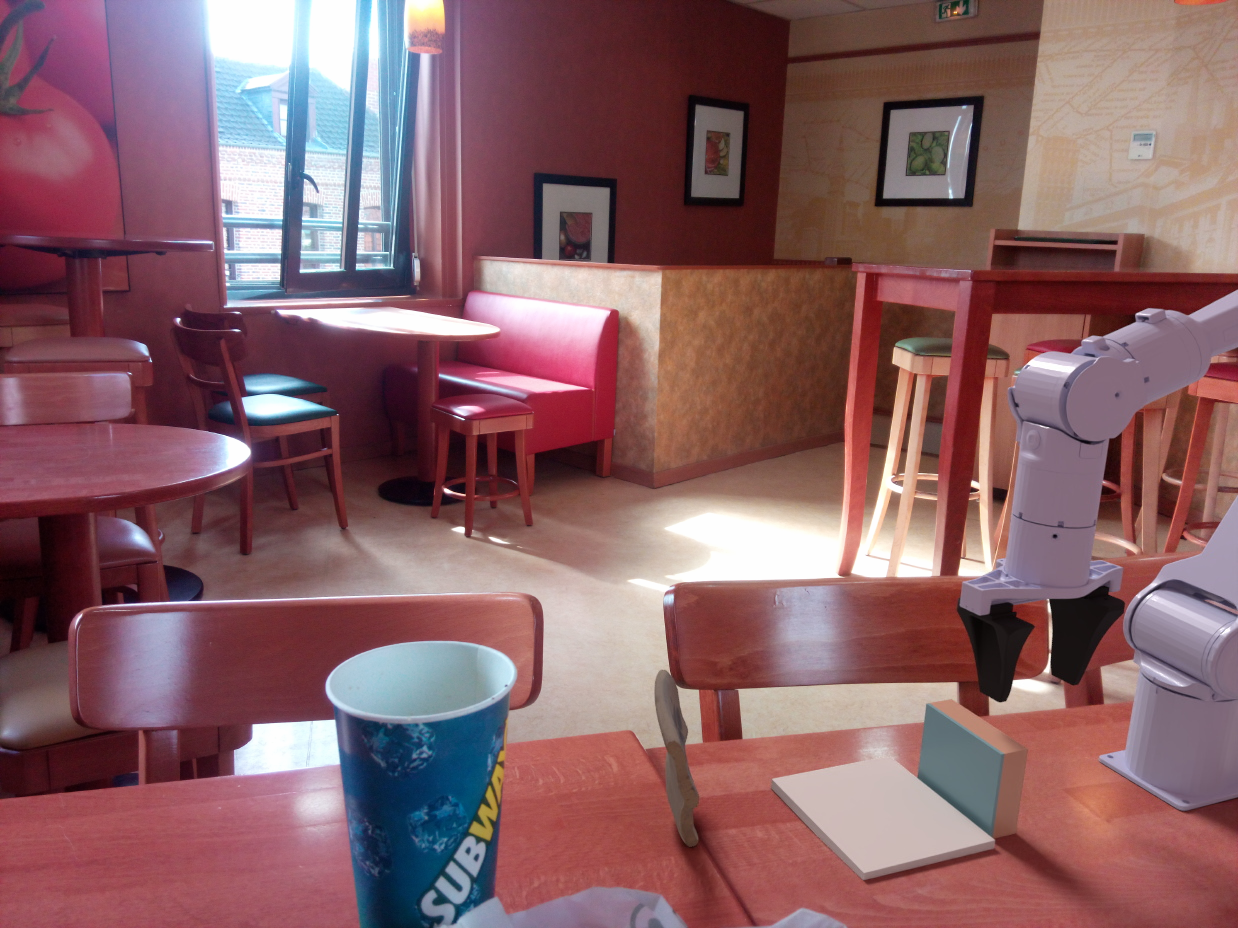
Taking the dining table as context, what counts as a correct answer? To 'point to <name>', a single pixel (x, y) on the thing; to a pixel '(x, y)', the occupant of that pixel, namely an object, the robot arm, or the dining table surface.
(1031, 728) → the dining table surface
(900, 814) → the pale grey mat
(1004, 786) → the glazed tile
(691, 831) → the ceramic fragment
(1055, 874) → the dining table surface
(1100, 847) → the dining table surface
